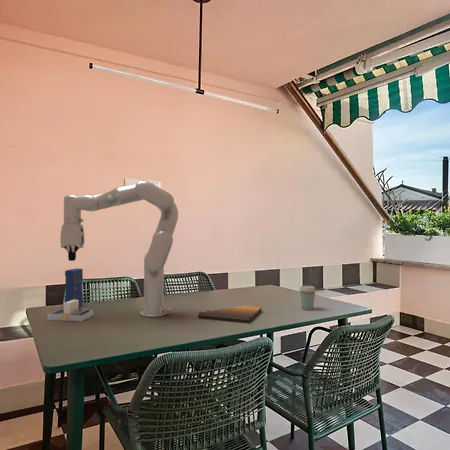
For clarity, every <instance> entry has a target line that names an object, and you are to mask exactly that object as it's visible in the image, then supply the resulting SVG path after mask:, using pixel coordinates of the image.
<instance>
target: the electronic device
mask: <svg viewBox="0 0 450 450" xmlns="http://www.w3.org/2000/svg"><path fill="white" fill-rule="evenodd" d="M83 270H84V269H83V268H72V269H71V268H70V269H67V270H65V271H64V277H65V286H64V287H65V292H64V293H65V295H64V303H65V302H68V301H71V300H79V307H81V306H83V277H84V276H83V274H84V273H83Z"/></svg>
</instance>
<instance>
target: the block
mask: <svg viewBox="0 0 450 450" xmlns="http://www.w3.org/2000/svg"><path fill="white" fill-rule="evenodd" d="M79 307H80V306H79V300H71V301H68V302H65V301H64V303H63V309H64V314H66V315H71V314H73V313H74V312H76V311H78V310H80V309H79Z"/></svg>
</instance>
